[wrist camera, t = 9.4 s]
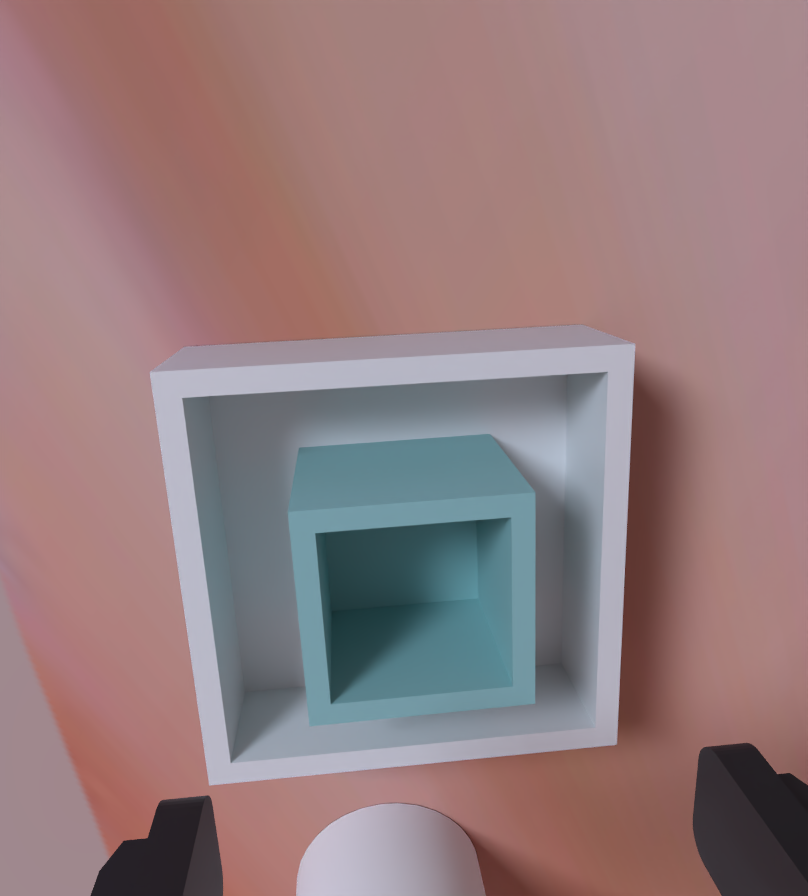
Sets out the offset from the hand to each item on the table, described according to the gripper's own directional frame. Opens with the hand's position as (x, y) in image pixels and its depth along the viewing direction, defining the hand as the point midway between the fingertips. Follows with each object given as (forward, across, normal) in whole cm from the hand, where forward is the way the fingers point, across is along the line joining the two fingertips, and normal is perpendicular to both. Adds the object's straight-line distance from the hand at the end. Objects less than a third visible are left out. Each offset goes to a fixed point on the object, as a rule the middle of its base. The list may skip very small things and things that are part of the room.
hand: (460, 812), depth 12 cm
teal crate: (+12, 0, 0) cm, 12 cm away
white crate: (+13, 0, 0) cm, 13 cm away
